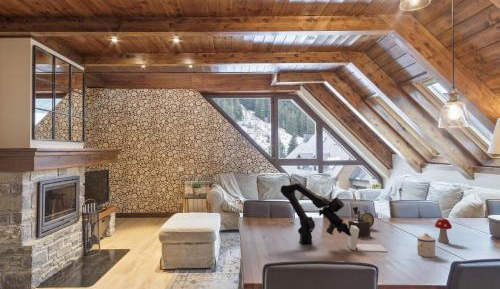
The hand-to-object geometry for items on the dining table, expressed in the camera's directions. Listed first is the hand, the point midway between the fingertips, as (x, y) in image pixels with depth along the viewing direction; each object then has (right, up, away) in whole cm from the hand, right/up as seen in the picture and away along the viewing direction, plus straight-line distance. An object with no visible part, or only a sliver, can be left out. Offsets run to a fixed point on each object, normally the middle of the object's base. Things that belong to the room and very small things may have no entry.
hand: (350, 235), depth 211 cm
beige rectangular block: (+1, -7, +1) cm, 7 cm away
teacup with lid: (+36, -7, -14) cm, 40 cm away
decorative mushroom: (+62, -8, +15) cm, 64 cm away
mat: (+11, -7, 0) cm, 13 cm away
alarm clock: (+26, -9, +55) cm, 61 cm away
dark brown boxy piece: (+14, -8, +36) cm, 40 cm away
